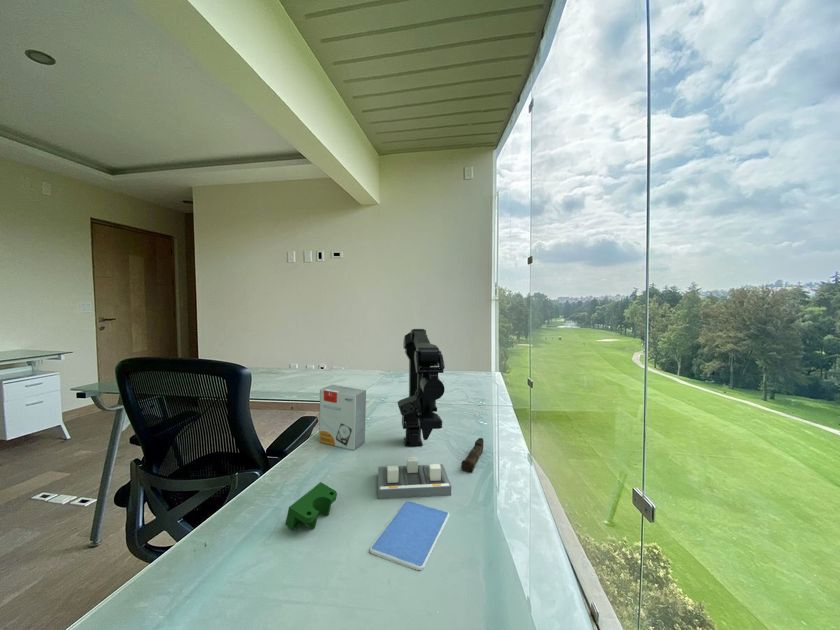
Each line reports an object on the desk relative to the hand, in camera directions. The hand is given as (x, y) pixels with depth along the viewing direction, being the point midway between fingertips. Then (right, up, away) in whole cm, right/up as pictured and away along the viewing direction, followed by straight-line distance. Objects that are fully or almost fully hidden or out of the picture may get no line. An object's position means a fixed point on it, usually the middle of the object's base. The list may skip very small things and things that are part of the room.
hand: (425, 439), depth 100 cm
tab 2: (-4, -9, -1) cm, 10 cm away
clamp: (-28, -12, -19) cm, 36 cm away
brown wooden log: (+17, -12, +13) cm, 24 cm away
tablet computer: (-3, -14, -23) cm, 27 cm away
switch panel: (-4, -12, -4) cm, 13 cm away
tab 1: (-9, -9, -7) cm, 14 cm away
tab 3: (+3, -9, -5) cm, 11 cm away
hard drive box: (-30, -10, +22) cm, 39 cm away
